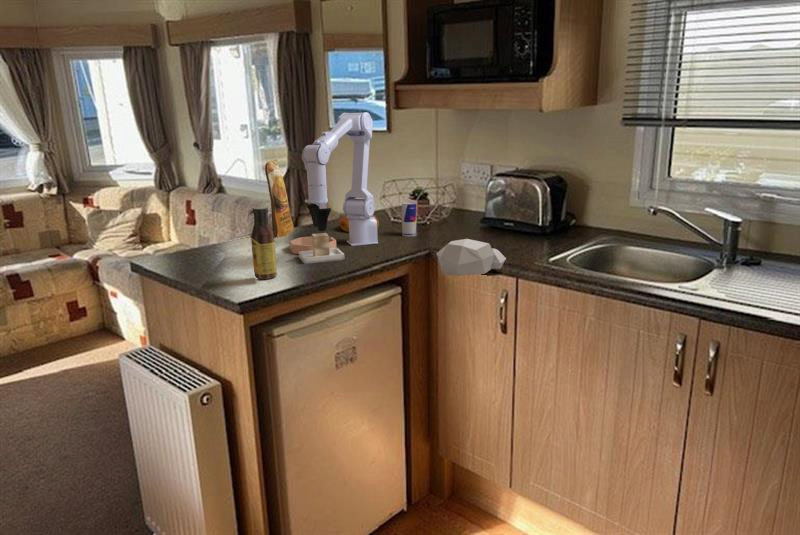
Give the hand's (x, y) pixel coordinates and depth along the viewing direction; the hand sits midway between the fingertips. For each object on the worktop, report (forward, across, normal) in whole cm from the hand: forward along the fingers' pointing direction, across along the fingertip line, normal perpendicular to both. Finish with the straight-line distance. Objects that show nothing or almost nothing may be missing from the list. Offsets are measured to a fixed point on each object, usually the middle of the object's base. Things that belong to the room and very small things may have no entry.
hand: (319, 228), depth 187 cm
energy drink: (+10, -21, +37) cm, 44 cm away
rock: (+10, +33, +37) cm, 50 cm away
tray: (+9, +1, 0) cm, 9 cm away
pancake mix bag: (+10, -42, -6) cm, 44 cm away
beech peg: (+9, +1, 0) cm, 9 cm away
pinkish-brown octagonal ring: (+9, -13, 0) cm, 16 cm away
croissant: (+10, -38, +22) cm, 45 cm away
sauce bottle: (+10, +17, -19) cm, 27 cm away
